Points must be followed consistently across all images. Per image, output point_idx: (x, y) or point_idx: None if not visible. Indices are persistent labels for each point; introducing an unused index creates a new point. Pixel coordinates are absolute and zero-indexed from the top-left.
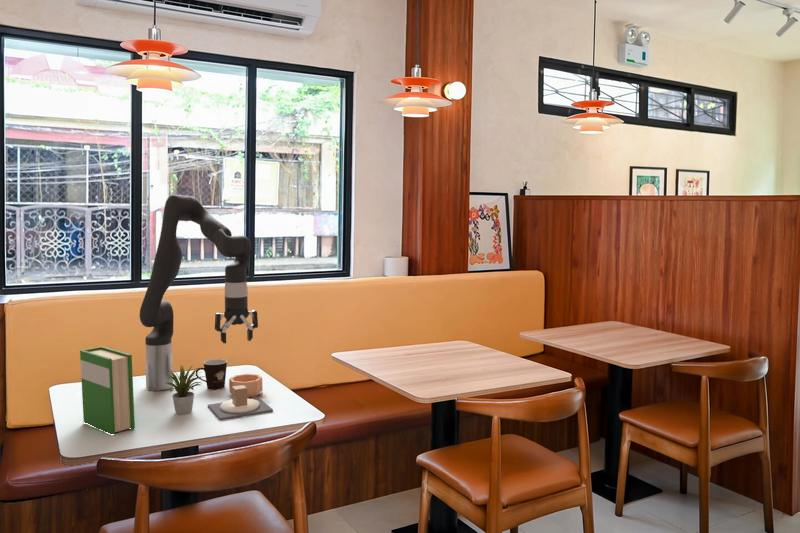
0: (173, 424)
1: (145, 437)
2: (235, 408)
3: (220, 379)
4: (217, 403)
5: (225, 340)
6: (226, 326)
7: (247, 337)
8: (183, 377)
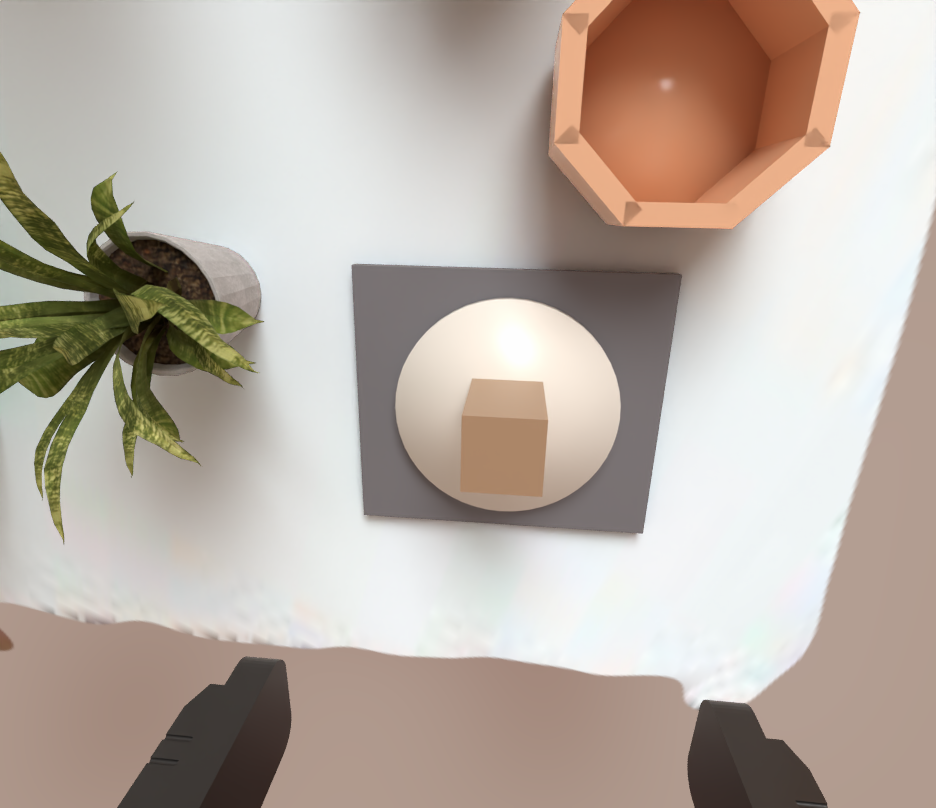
0: None
1: (53, 530)
2: (460, 467)
3: None
4: (409, 273)
5: (257, 781)
6: None
7: (719, 744)
8: (75, 254)
